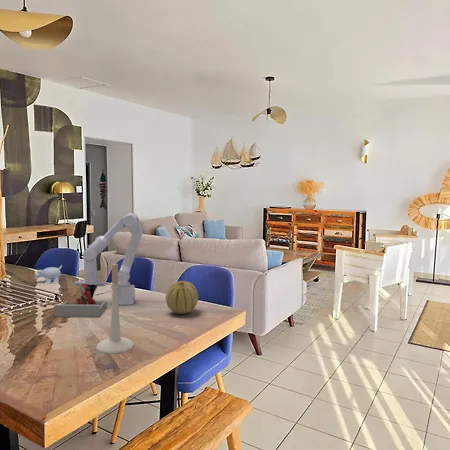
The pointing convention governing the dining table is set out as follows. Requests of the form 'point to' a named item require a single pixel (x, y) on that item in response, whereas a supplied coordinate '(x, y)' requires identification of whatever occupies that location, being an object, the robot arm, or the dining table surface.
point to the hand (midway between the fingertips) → (90, 300)
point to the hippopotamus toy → (49, 274)
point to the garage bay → (78, 310)
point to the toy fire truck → (85, 296)
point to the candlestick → (115, 324)
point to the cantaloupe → (182, 297)
